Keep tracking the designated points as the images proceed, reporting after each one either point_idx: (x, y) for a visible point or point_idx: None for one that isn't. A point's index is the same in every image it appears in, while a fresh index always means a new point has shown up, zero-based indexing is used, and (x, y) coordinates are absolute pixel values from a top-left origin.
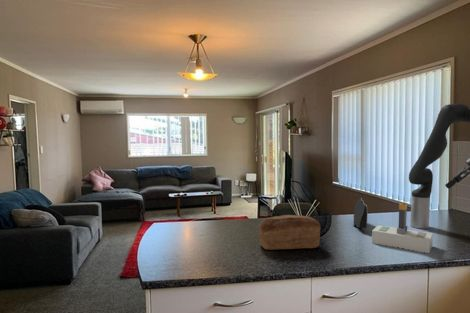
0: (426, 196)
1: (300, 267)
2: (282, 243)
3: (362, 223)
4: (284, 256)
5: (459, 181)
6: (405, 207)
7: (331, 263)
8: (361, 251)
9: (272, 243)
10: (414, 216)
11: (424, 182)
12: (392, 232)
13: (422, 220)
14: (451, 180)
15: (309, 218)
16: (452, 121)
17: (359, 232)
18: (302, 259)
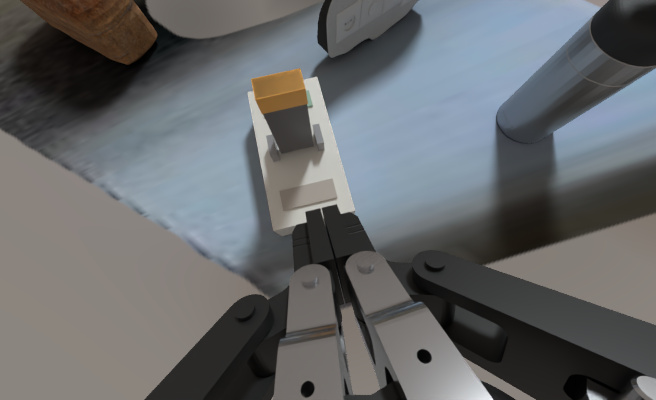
0: (629, 56)
1: (4, 108)
2: (54, 24)
3: (321, 40)
4: (44, 59)
5: (228, 396)
6: (268, 106)
7: (61, 131)
8: (177, 130)
9: (39, 15)
10: (521, 92)
11: None
12: (270, 132)
13: (524, 119)
14: (313, 261)
15: None
16: None
17: (320, 57)
18: (49, 87)
